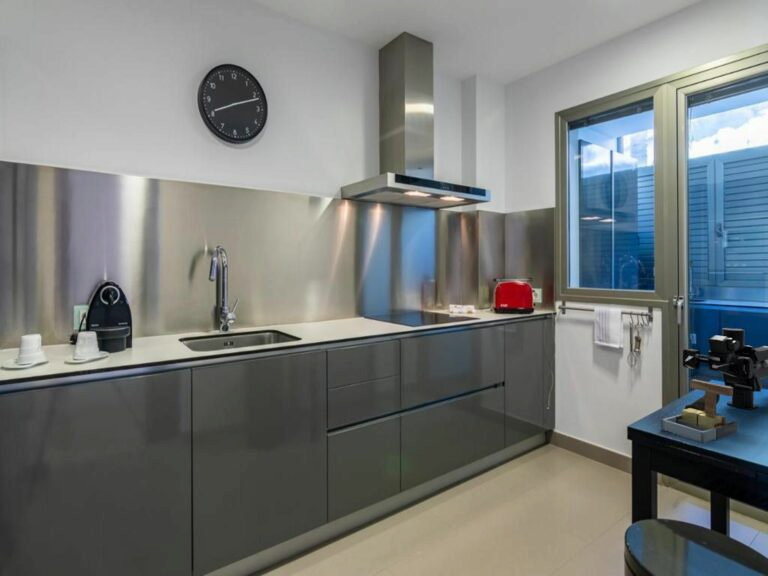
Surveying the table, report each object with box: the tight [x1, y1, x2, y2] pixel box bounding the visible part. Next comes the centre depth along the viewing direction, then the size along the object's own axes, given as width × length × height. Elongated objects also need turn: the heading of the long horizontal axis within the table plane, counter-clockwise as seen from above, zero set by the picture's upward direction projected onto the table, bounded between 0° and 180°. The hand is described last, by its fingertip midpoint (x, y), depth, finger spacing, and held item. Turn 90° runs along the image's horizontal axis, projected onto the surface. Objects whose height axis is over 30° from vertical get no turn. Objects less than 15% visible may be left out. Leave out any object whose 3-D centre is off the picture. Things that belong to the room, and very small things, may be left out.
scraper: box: [689, 378, 733, 425], centre depth 123 cm, size 3×10×11 cm, turn 26°
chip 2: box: [698, 413, 723, 429], centre depth 119 cm, size 4×4×3 cm
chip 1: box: [681, 408, 705, 424], centre depth 123 cm, size 4×4×3 cm
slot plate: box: [674, 413, 738, 440], centre depth 122 cm, size 10×11×3 cm
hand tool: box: [684, 394, 721, 412], centre depth 133 cm, size 19×4×5 cm, turn 118°
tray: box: [660, 415, 717, 444], centre depth 119 cm, size 6×11×3 cm, turn 25°
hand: (701, 365), depth 131 cm, fingers open, 9 cm apart
